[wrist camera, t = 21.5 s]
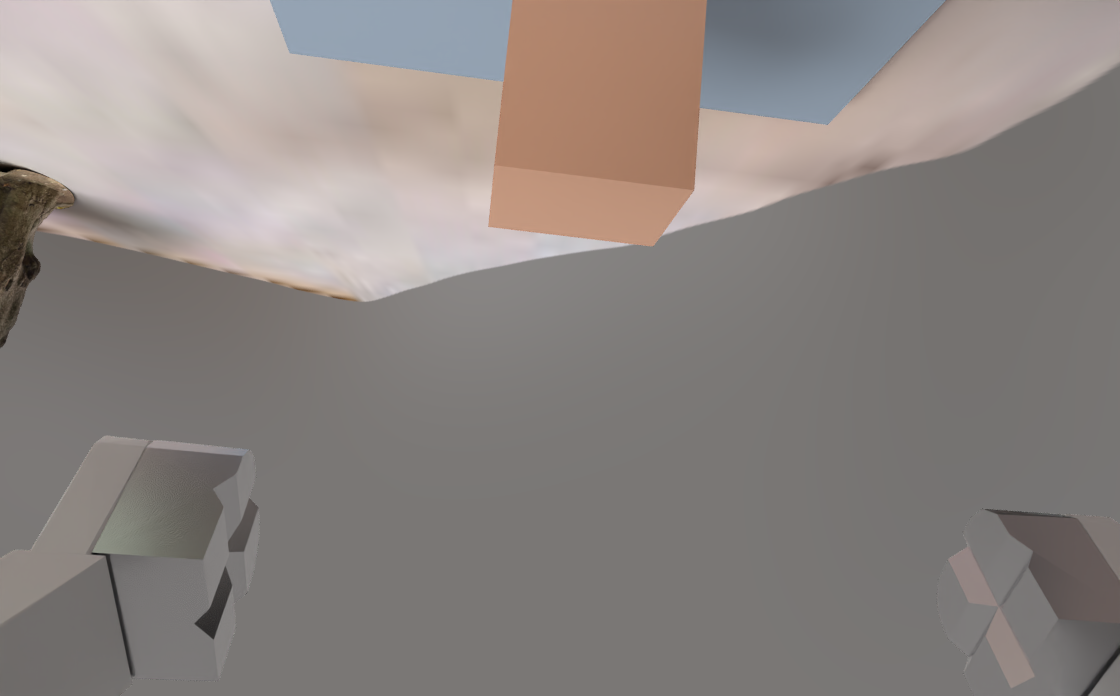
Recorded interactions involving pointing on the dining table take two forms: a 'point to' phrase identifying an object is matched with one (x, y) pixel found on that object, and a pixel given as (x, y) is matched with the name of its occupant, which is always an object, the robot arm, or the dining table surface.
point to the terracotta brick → (598, 117)
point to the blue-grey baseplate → (728, 57)
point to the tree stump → (22, 235)
